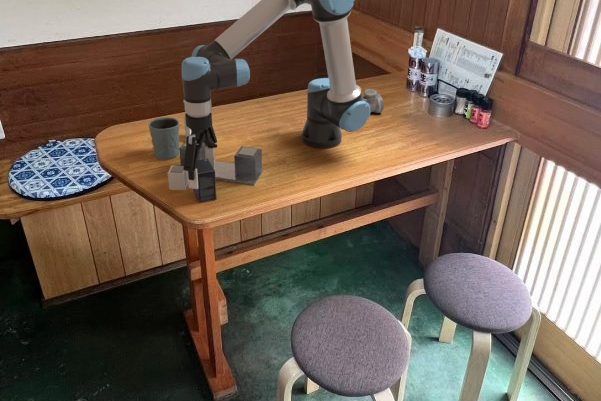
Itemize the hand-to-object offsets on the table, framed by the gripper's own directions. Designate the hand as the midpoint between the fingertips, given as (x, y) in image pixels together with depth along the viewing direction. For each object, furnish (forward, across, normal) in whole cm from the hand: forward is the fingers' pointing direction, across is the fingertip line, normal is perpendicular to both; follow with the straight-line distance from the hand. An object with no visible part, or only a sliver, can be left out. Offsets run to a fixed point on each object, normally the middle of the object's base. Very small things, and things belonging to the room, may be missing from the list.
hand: (202, 177), depth 170 cm
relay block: (+7, -3, -10) cm, 12 cm away
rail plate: (+7, -15, 0) cm, 17 cm away
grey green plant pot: (+7, -22, -23) cm, 33 cm away
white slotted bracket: (+7, -36, -19) cm, 41 cm away
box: (+7, 0, 0) cm, 7 cm away
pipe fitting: (+6, -78, +40) cm, 88 cm away
